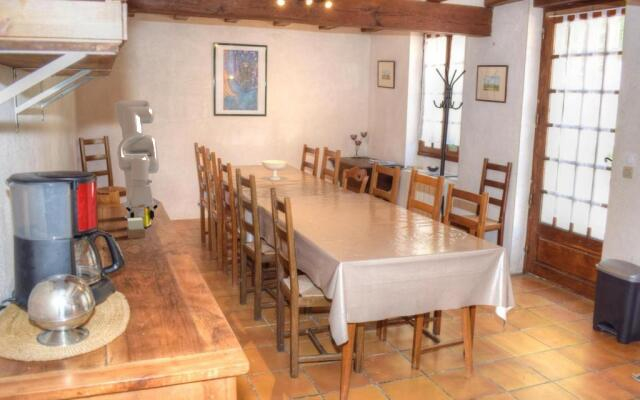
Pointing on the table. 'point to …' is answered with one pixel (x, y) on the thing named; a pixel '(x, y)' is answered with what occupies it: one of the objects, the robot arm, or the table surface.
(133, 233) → the walnut slab
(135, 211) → the supplement box
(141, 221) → the cream square block
